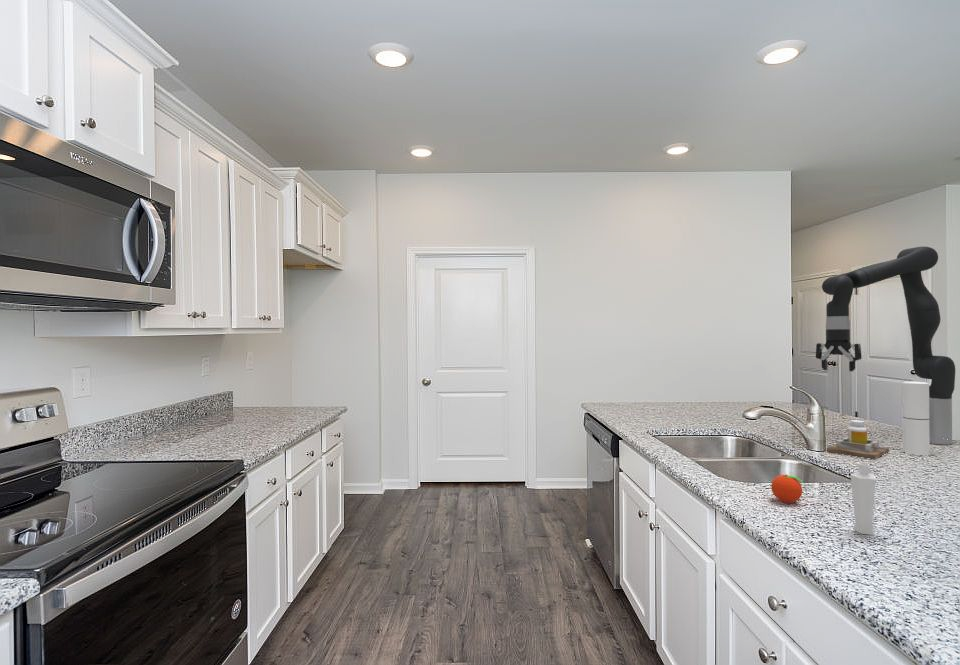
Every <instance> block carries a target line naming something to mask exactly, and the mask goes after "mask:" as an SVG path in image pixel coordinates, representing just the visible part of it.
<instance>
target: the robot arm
mask: <svg viewBox="0 0 960 665" xmlns="http://www.w3.org/2000/svg"><path fill="white" fill-rule="evenodd" d="M938 254H939V253H938V252H937V250H935V248H933V247H930V246H917V247H910V248H905V249H902V250H901V251H899V253H898V254H897V256H896V258H895V259H890V260H887V261H883V262H878V263H874V264H870V265H867V266H863V267H860V268H857V269H854V270H852V271H849V272H846V273H841V274H837V275H833V276H829V277H827V278H826V279H825V280H824V281H823V282H822V284H821V289H822V291H823V293H825V294H826V295H829V296H832V300H831V301H830V300H829V301H828V302H827V304H826V307H825V308H826V309H825V310H826V320H825V327H824V328H825V343H821V342H818V343H816V344H815V345H816V347H815V358H816V359H818V360H820V361H821V369H822V370H823V371H828V369H829V368H828V365H829V364H828V360H827V359H828V358H830V357H831V355H833V356H834V355H838V356H845V357H846V358H847V359H848V360H849V361H848V365H849V366H848V370H849V372H854V370H856V362H857V361H860V360H862V348H861V347H862V346H861V343H851V322H850V307H849V306H850V303H851V300H852V296H853V291H854V289H860V288H863V287H868V286H869V285H873V284H875V283H879V282H882V281H885V280H888V279H890V278H893V277H897V276H899V278H900V280H901V284H902V289H903V294H904V300H905V305H906V311H907V312H906V313H907V319H908V324H909V329H910V330H909V331H910V336H911V345H912V346H911V349H912V350H911V351H912V352H911V353H912V368H913V371H914V373H915V375H916V376H917V377H919V378H920V379H925V380H931V382H930V384H929V442H930V444H932V445H947V446H948V445H952V444H953V394H954V391H955V384H956V364H955V362H954V361H953V359H952V358H951V357H948V356H947V355H946V356H945V355H933V350H932V341H933V338H934V336H935V335H936V332H937V330H938V329H939V326H940V323H941V312H940V308H939V303H938V301H937V299H936V298H935V297H934V295H933V294H932V293H931V292H930V290H929V289H928V288H927V286H926V285H925V283H924V279H923V276H922V272H924V271H927V270H930V269H932V268H934V267H935V265H937V263H938V261H939V255H938ZM824 348H825V349H826V351H825V352H824V354H823V349H824ZM851 348H852V349H853V350H854V355H853V354H852V352H851V351H850V349H851ZM943 438H944V439H943ZM947 439H948V440H947Z"/></svg>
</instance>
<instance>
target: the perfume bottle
mask: <svg viewBox="0 0 960 665" xmlns="http://www.w3.org/2000/svg"><path fill="white" fill-rule="evenodd" d="M857 465H858V471H857V472H854V473H851V474H850V482H851V491H852V493H851V494H852V501H853V511H854V512H853V514H854V525H853V529H852V530H853V531H855V532H857V533H859V534H863V535H871V536H873V535H875V529H874V526H873V520H874V506H875V492H876V491H875V490H876V480H877V479H876V476H875V475H874V474H872V473H870V463H865V462H857Z"/></svg>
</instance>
